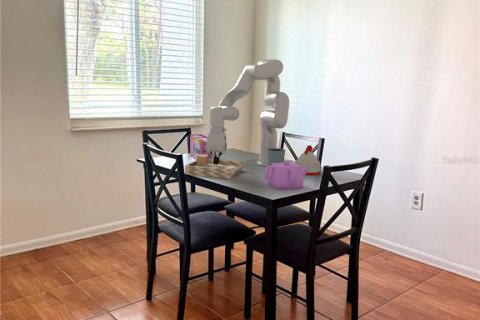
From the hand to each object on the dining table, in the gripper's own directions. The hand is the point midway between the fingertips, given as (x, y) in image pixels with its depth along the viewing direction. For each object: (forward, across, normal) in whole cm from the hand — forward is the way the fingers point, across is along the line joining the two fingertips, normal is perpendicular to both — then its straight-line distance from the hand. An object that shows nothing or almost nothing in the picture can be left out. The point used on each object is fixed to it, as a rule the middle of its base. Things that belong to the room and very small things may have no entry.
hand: (216, 164), depth 229 cm
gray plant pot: (+4, -30, -12) cm, 32 cm away
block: (+1, +8, +1) cm, 8 cm away
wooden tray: (+3, -1, +5) cm, 6 cm away
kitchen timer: (+4, -46, -17) cm, 50 cm away
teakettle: (+4, -42, +17) cm, 45 cm away
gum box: (+4, +20, -27) cm, 34 cm away
